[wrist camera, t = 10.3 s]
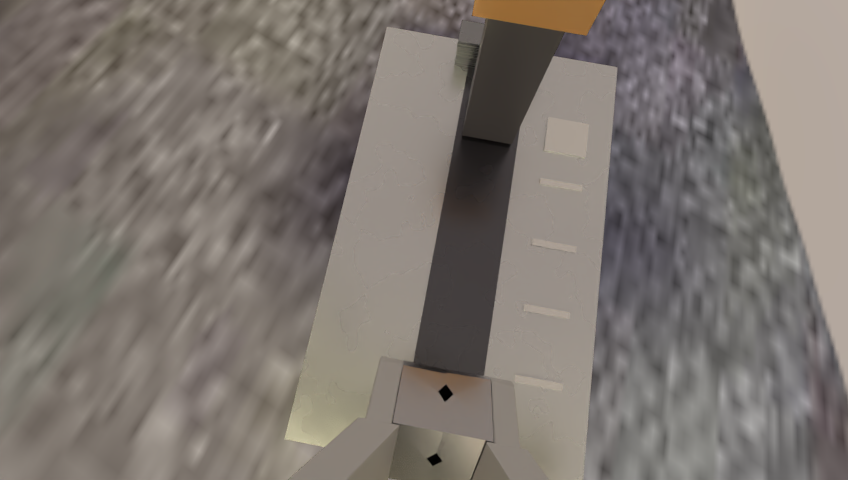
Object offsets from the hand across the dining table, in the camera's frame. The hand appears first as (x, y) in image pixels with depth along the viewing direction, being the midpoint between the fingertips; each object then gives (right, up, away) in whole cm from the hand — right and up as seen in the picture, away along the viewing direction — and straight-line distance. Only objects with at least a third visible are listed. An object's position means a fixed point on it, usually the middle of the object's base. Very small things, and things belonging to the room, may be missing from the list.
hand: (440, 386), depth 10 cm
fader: (+3, +9, +11) cm, 15 cm away
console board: (+2, +3, +12) cm, 12 cm away
